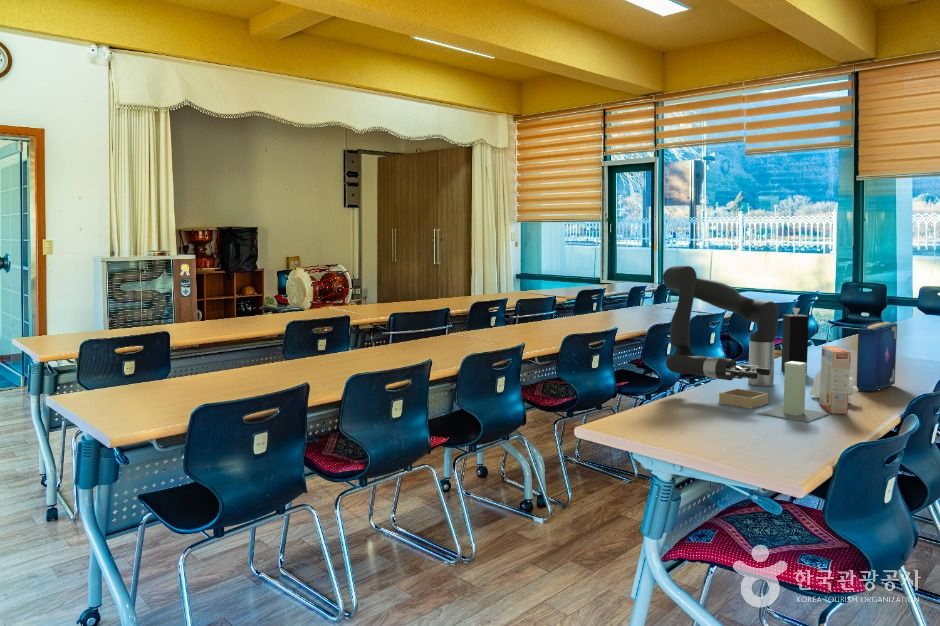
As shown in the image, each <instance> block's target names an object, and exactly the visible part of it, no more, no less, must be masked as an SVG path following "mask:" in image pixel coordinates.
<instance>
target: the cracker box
mask: <svg viewBox="0 0 940 626" xmlns="http://www.w3.org/2000/svg"><path fill="white" fill-rule="evenodd" d="M851 355H852V352H850V351H848V350H847V349H844V348H842V347H840V346H838V345H822V346H821V359H820V360H821V361H820V371H821V379H820V398H818V401H819V402H818V403H819V406H820V405H821V406H820V407H821V408H823V409H824V410H825V411H826V410H827V413H829V414H830V413H832V414H833V415H848V413H849V403H848V398H849V397H850V395H849V379H850V377H851V376H850V375H851V373H850V372H851V361H852V360H851V359H852V357H851Z"/></svg>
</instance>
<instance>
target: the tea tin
mask: <svg viewBox="0 0 940 626" xmlns="http://www.w3.org/2000/svg"><path fill="white" fill-rule="evenodd" d="M806 366H807V367H808V362H807V363H804V362H795V361H790V362H786V363H785V373H784V380H783V383H784V385H783V386H784V387H783V406H784V408H783V413H785V414H791V415H797V416H798V415H801V414H804V410H805V406H806V380H807V379H806V376H807V374H806Z"/></svg>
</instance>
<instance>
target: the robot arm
mask: <svg viewBox="0 0 940 626" xmlns="http://www.w3.org/2000/svg"><path fill="white" fill-rule="evenodd" d="M662 282H663V284H664V285H665V287H666V288H667V289H669V290H671V291H673V292H678V300H677V305H676V307H675V308H676V309H675V311H674V313H673V316H672V318H671V320H670V328H669V344H670V345H671V346H672V347H673V348H674V350H675V353H671V354H670V355H668V356H667V358H666V359H665V367H666V368H667V369H668V371H669V372H671V373H675V374H686V375H696V376H701V377H702V376H703V377H707V378H711V379H718V380H724V381H733V380H734V379H738V380H741V379H748V381H747V384H749V385H752V386H758V387H770V386H773V385H774V383H775V382H774V379H775V377H774V376H775V339H776V336H777V333H778V324H779V308H778V307H779V306H778V305H777V304H776V303H775V302H774V301H772V300H763V299H762V300H761V299H754V298H749V297H746V296H744V295H742V294H740V292H739V291H738V290H737V289H736V288H734V287H733V286H730V285H728V284H726V283H723V282H721V281H717V280H711V279H707V278H702V277H697V272H696V270H695V268H694V267H692V266H691V265H673V266H671V267H668V268H667V269H666V270H665V271H664V272H663V274H662ZM694 298H696V299H698V300H700V301H702V302H705V303H707V304H709V305H711V306H713V307H716V308H719V309H720V310H721V309H722V310H724V311H728V312H731V313H735V314H737V315H739V316H741V317H743V318H745V319H746V320H748V321H749V322H751V323H755V324H758V326H757V330H756V331H753V332H751V333H750V334H749V342H748V343H749V348H748V349H749V350H748V351H749V352H748V364H746V363H745V364H737V363H736V360H734V359H732V358H724V357H713V356H711V357H710V356H703V355H696V356H695V355H693V351H692V347H691V343H690V340H691V339H690V336H691V335H690V334H691V332H690V329H691V316H692V310H693V304H694Z"/></svg>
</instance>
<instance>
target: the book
mask: <svg viewBox="0 0 940 626" xmlns="http://www.w3.org/2000/svg"><path fill="white" fill-rule="evenodd" d="M897 333H898V323H897V322H895V321H894V322H890V321H886V322H884V321H883V322H882V321H880V320H879V321H873V322H870V323H867V324H865V325H864V326H861V327H859V328H858V329H857V359H856V368H857V369H856V387H857V388H858V391H861V390H862V392H868V391H872V392H874V391H878V389H882V390H884V389H887V388H889V387H890V386H892V385H895V384H896V366H897V365H896V364H897V362H896V360H897V337H898V334H897ZM886 387H887V388H886ZM883 388H884V389H883Z"/></svg>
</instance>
